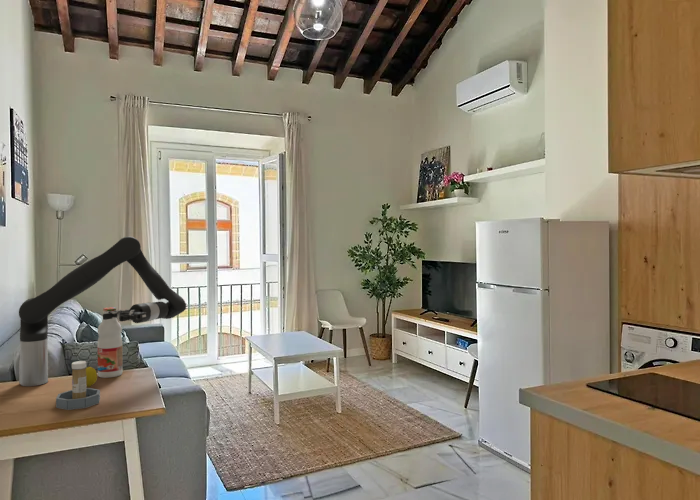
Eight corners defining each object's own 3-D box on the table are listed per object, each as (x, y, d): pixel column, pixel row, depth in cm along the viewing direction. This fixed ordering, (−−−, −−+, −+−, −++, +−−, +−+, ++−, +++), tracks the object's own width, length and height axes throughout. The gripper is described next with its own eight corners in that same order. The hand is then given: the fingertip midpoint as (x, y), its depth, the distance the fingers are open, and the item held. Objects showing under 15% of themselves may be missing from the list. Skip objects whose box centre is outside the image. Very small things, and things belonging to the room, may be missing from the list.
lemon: (90, 389, 195) (90, 368, 195) (77, 388, 196) (77, 367, 196) (100, 385, 200) (100, 365, 200) (87, 384, 202) (87, 364, 201)
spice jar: (69, 401, 179) (69, 362, 179) (83, 397, 183) (82, 359, 182) (75, 403, 176) (75, 364, 176) (89, 400, 180) (88, 361, 179)
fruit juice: (127, 374, 217) (126, 307, 216) (106, 379, 209) (105, 310, 209) (114, 370, 222) (113, 305, 222) (93, 375, 214) (92, 308, 214)
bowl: (48, 406, 176) (48, 396, 176) (81, 395, 188) (81, 386, 188) (75, 411, 171) (75, 401, 171) (108, 400, 183) (107, 391, 183)
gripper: (131, 302, 212) (97, 306, 197) (158, 304, 206) (125, 309, 191) (131, 320, 212) (97, 326, 197) (158, 323, 206) (125, 329, 191)
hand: (111, 317), depth 194 cm, fingers open, 8 cm apart
